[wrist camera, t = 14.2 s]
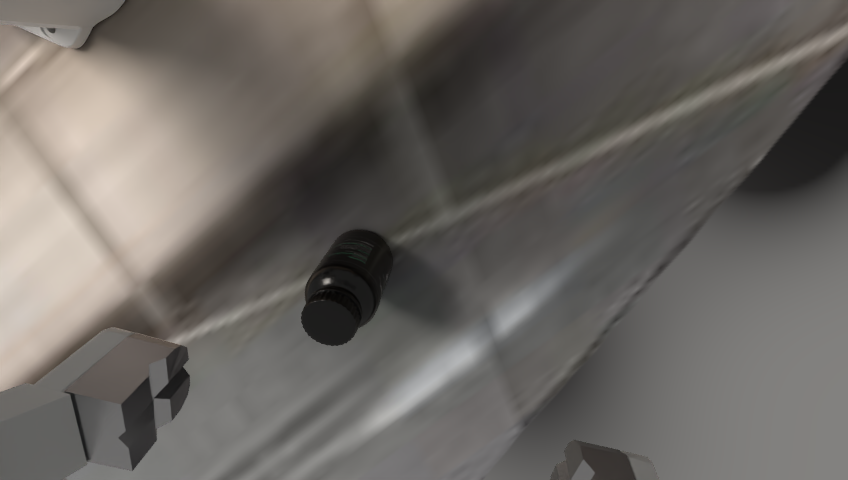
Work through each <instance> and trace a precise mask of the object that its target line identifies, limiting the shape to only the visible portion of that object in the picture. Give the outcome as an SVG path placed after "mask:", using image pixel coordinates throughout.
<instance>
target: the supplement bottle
mask: <svg viewBox="0 0 848 480" xmlns="http://www.w3.org/2000/svg"><path fill="white" fill-rule="evenodd" d="M392 265H393V257H392V253H391V250H390V248H389V246H388V245H387V243H386V242H385V241H384V240H383V239H382V238H381V237H379V236H378V235H376V234H375V233H372V232H370V231H366V230H351V231H348V232H346V233H344V234H342V235H341V236H339V237H338V238H337V239H336V240H335V242H334V243H333V245H332V246H331V247H330V249H329V250H328V252H327V253H326V255H325V256H324V258H323V259H322V260H321V262H320V263H319V265H318V266H317V268H316V269H315V271H314V272H313V273H312V275H311V277H310V278H309V280H308V282H307V284H306V288H305V300H306V305H305V307H304V309H303V311H302V313H301V314H302V316H301V320H302V321H301V323H302V324H303V328H304V329H305V332H307V333H308V335H309V336H310V337H311V338H312V339H314V340H316V341H317V342H320V343H321V344H325V345H331V346H334V345H336V346H338V345H343V344H344V343H347V342H348V341H350V340H351V339H352V338H353V337H354V335H355V333H356V332H357V329H358V328H360V327H362V326H364V325H365V324H367V323H368V322H369V321H370V320H371V319H372V318H373V316H374V315H375V313H376V311H377V309H378V306H379V303H380V300H381V297H382V295H383V292H384V289H385V286H386V284H387V281H388V278H389V275H390V272H391V269H392Z"/></svg>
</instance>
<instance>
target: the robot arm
mask: <svg viewBox="0 0 848 480" xmlns="http://www.w3.org/2000/svg"><path fill="white" fill-rule="evenodd" d="M124 1H125V0H0V24H3V25H15V26H17V27H19V28H22V29H24V30H26V31H28V32H31V33H33V34H35V35H37V36H39V37H42V38H44V39H46V40H48V41H51V42H53V43H55V44H57V45H60V46H62V47H66V48H75V49H76V48H80V47H81V46H82V45H83V44H84V43H85V41H86V40H87V38H88V36H89V34H90V32H91V30H92V28H93V27H94V26H95V25H96V24H97V23H99V22H100V21H102V20H104V19H106V18H107V17H109V16H111V15H112V14H113V13H115V12H116V11H117V10H118V9H119V8H120V7H121V6H122V4H123V3H124ZM54 28H55V29H56V31H55V30H54ZM188 360H189V358H188V350H187V347H185V346H182V345H179V344H175V343H172V342H168V341H164V340H161V339H157V338H153V337H150V336H146V335H142V334H138V333H134V332H130V331H126V330H122V329H118V328H115V327H112V328H109V329H106V330H103V331H102V332H100V333H99V334H98V335H96V336H95V337H94V338H93V339H91V340H90V341H89V342H88V343H86V344H85V345H84V346H82V347H81V348H80V349H79V350H77V351H76V352H75V353H74V354H72V355H71V356H70V357H68V358H67V359H66V360H65V361H63V362H62V363H61V364H60V365H58V366H57V367H56V368H54V369H53V370H52V371H51V372H49V373H48V374H47V375H46V376H44V377H43V378H42V379H41V380H39V381H38V382H37V383H35V384H34V385H32V384H27V383H25V384H22V385H19V386H16V387H13V388H11V389H8V390H5V391H2V392H0V480H62V479H64V478H66V477H67V476H69V475H71V474H72V473H74V472H76V471H77V470H79V469H81V468H82V467H84V466H86V465H87V462H91V463H96V464H101V465H106V466H110V467H115V468H120V469H125V470H129V471H133V470H134V468H135V467H136V466H137V465H138V463H139V462H140V461H141V460H142V458H143V457H144V456H145V455H146V453H147V452H148V451H149V450H150V448H151V447H152V446H153V444H154V443H155V442H156V441H157V428H159V427H161V426H163V425H165V424H167V423H169V422H171V421H172V420H173V419H174V418H175V416H176V415H177V414H178V412H179V411H180V410H181V408H182V406H183V404H184V402H185V400H186V398H187V395H188V391H189V387H190V375H189V374H188V373H187V371H186V370H185V369H184V368H183V366H184V364H185V363H186V362H187V361H188ZM564 452H565V457H566V460H565V461H563V462H561V463H559V464H556V466H555V468H554V471H553V472H552V475H551V479H550V480H659V477H658V475H657V473H656V470H655V468H654V465H653V464H652V462H651V461H650V460H649V459H648V457H645V456H641V455H637V454H632V453H628V452H624V451H620V450H616V449H612V448H608V447H604V446H599V445H595V444H590V443H586V442H582V441H577V440H573V441H571V442H570V443H568V445H567V447H566V448H565V451H564Z"/></svg>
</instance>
